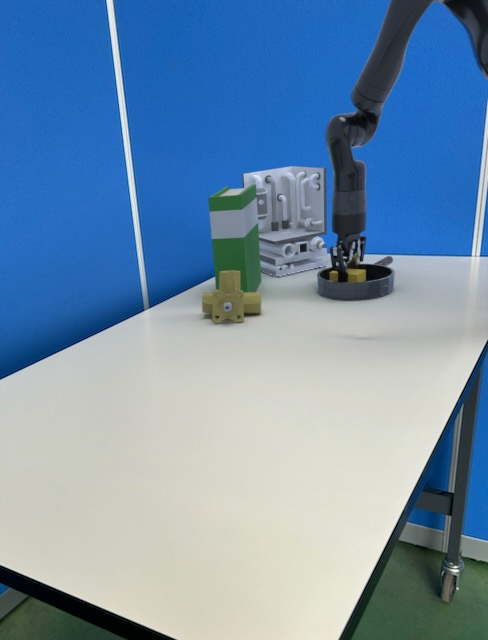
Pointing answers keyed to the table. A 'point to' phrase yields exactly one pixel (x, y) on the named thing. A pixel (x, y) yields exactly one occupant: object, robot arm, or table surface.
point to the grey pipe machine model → (290, 217)
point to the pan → (358, 284)
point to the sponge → (350, 275)
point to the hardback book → (236, 235)
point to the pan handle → (385, 261)
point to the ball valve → (230, 299)
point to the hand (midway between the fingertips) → (348, 284)
